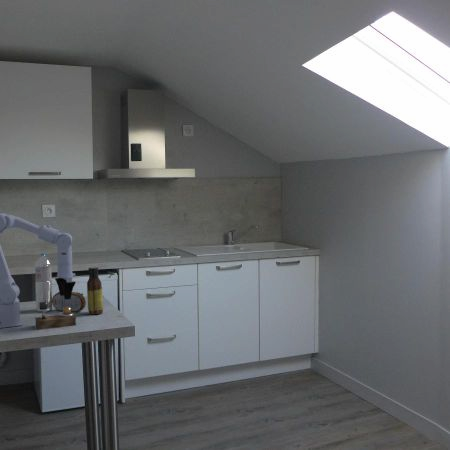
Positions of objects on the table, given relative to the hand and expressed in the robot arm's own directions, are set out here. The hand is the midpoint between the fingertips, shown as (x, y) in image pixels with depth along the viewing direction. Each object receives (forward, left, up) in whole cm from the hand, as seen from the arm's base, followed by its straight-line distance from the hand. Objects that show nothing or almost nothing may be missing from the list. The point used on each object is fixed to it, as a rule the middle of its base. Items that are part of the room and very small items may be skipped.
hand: (65, 297), depth 239 cm
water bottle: (-3, +25, -11) cm, 27 cm away
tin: (+6, +19, -11) cm, 23 cm away
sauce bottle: (+15, +10, -11) cm, 21 cm away
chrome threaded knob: (-9, -2, -7) cm, 12 cm away
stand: (-4, -2, -10) cm, 11 cm away
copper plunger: (0, -2, -10) cm, 11 cm away
